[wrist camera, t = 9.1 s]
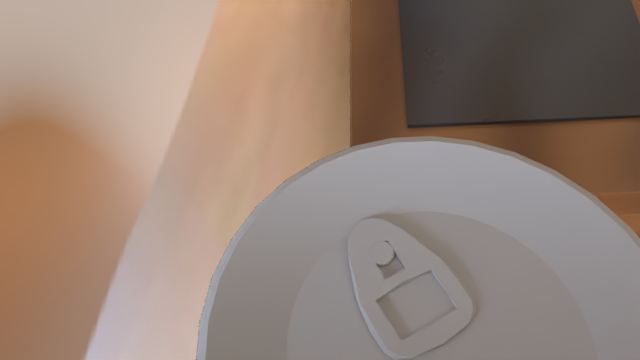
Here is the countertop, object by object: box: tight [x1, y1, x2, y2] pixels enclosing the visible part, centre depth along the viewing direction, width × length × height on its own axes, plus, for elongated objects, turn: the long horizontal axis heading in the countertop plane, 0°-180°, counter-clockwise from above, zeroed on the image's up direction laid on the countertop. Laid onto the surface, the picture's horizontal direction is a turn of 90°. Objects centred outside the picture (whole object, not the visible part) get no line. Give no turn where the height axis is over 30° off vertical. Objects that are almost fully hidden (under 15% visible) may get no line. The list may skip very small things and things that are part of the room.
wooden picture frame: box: [350, 0, 640, 238], centre depth 26 cm, size 14×16×4 cm
